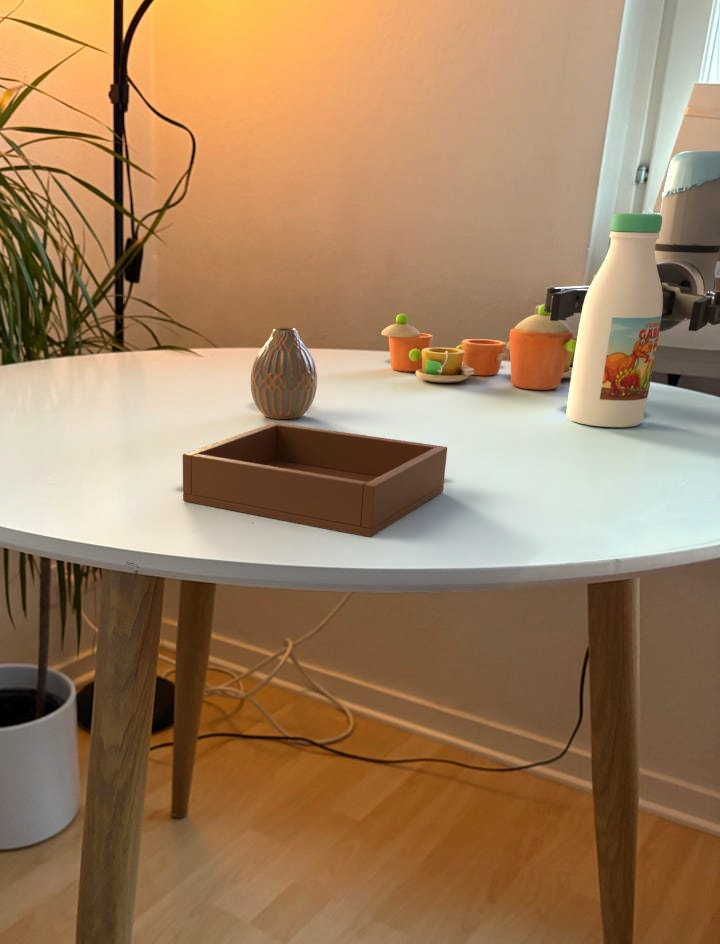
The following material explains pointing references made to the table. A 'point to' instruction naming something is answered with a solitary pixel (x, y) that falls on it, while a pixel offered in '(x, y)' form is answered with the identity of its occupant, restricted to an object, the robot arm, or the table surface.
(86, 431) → the table surface
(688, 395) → the table surface
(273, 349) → the vase
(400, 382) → the table surface
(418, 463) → the tray
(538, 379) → the toy tea set
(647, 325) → the milk bottle
